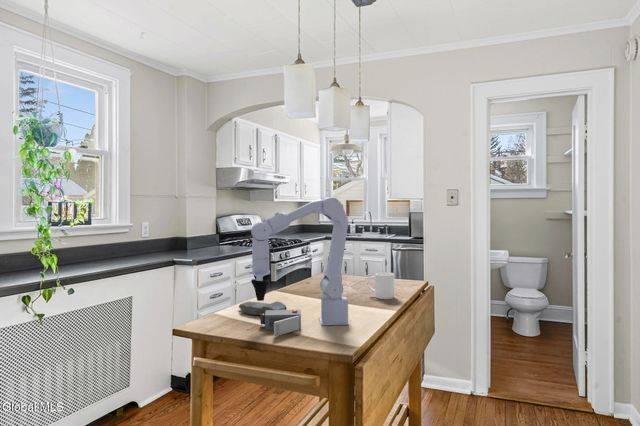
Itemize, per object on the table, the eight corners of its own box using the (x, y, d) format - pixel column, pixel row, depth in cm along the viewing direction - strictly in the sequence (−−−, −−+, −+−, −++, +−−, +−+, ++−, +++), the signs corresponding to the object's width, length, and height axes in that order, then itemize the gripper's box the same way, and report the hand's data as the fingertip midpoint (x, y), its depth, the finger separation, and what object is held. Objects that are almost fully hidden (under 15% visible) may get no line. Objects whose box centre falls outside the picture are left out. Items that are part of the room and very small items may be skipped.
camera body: (300, 323, 152) (300, 307, 151) (300, 329, 146) (300, 312, 145) (261, 324, 151) (261, 308, 150) (260, 330, 145) (260, 313, 144)
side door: (299, 328, 145) (299, 315, 145) (302, 329, 145) (302, 315, 144) (273, 336, 138) (273, 322, 138) (276, 337, 137) (276, 322, 137)
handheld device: (246, 307, 174) (246, 296, 173) (288, 314, 164) (288, 302, 164) (231, 313, 165) (230, 301, 165) (274, 321, 156) (274, 308, 155)
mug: (364, 297, 189) (364, 274, 188) (370, 293, 196) (370, 270, 196) (391, 300, 184) (391, 276, 183) (396, 296, 191) (396, 272, 191)
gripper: (250, 255, 154) (251, 292, 155) (246, 261, 139) (247, 303, 140) (270, 254, 154) (271, 292, 155) (268, 261, 140) (269, 302, 141)
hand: (261, 297), depth 148 cm, fingers open, 7 cm apart
